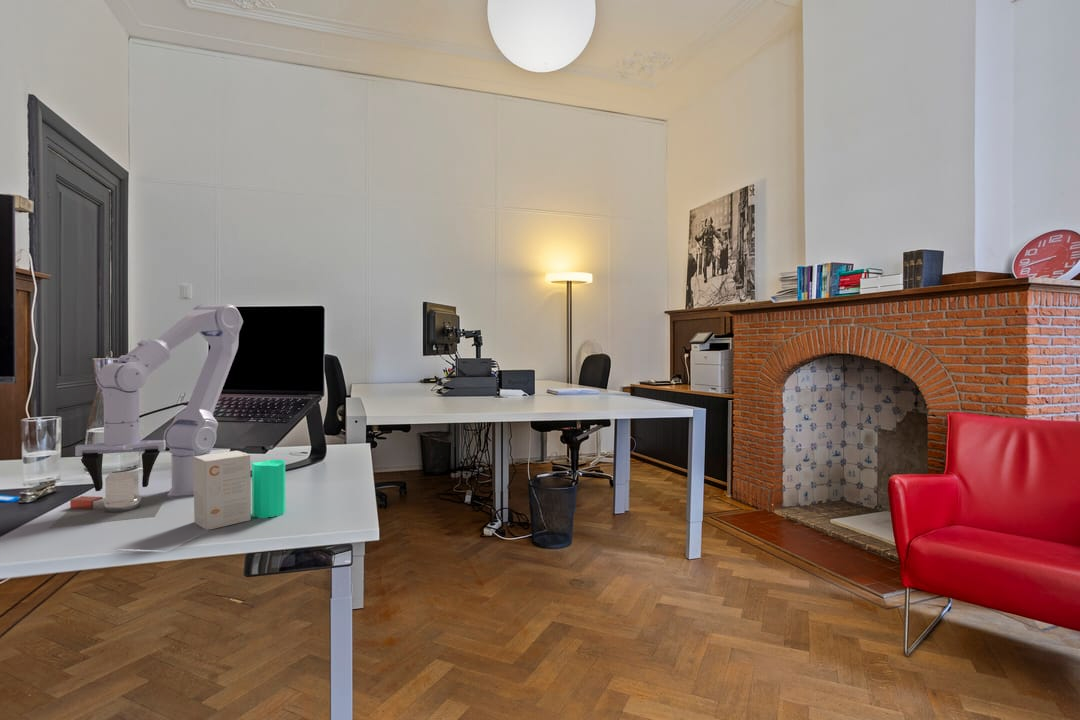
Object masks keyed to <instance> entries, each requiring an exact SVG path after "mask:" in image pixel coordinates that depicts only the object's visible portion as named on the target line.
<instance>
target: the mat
mask: <svg viewBox="0 0 1080 720" xmlns="http://www.w3.org/2000/svg"><path fill="white" fill-rule="evenodd" d="M167 498H168V497H167V495H158V496H149V497H141V507H140V508H138V509H135V510H131V511H126V512H119V513H107V512H104V509H71V508H70V509H68V510H67V511H65V513H64V514H63V515H61V517H59V519H57V520H55V522H54V523H53V524H51V525H50V526H49V527H48V529H54V528H62V527H71V526H82V525H89V524H100V523H107V522H108V523H109V522H117V521H119V522H121V521H127V520H135V519H136V520H137V519H145V518H146V519H147V518H155V516H157V514H158V512H159V510H160V508H161V507H162V506H163V504H164V502H165V501H166V500H167Z"/></svg>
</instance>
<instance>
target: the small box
mask: <svg viewBox="0 0 1080 720" xmlns="http://www.w3.org/2000/svg"><path fill="white" fill-rule="evenodd" d="M193 467H194V494H193V515H194V516H193V518H194V521H193V523H195V524H196V525H198V526H200V528H203V529H204V530H207V531H211V530H214V529H218V528H219V529H220V528H223V527H228V526H231V525H235V524H240V523H244V522H248V521H252V520H251V519H252V518H251V517H252V516H251V515H252V481H251V454H249V453H246V452H244V451H240V450H231V451H230V450H229V451H224V452H219V453H216V454H209V455H202V456H194V457H193Z"/></svg>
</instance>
